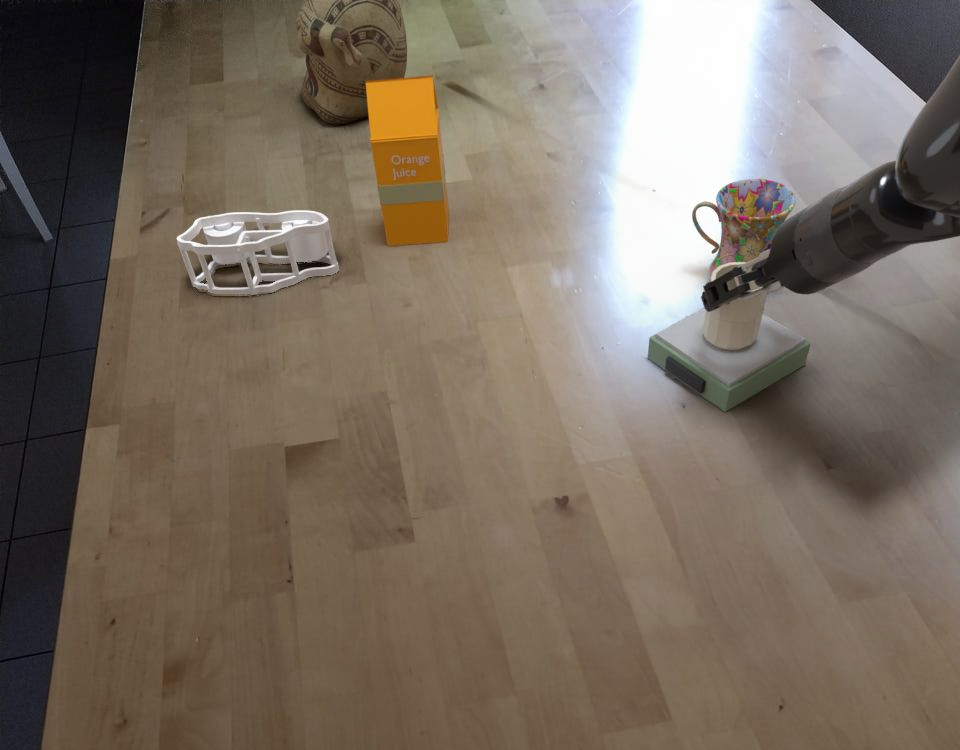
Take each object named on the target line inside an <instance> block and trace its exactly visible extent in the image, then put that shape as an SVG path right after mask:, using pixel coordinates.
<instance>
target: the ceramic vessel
mask: <svg viewBox="0 0 960 750" xmlns="http://www.w3.org/2000/svg"><path fill="white" fill-rule="evenodd" d="M295 28H296V32H297V44H298V45H297V46H298V47H299V50H300V51H301V52H302V53H303V54H305V67H306V71H305V73H304V78H303V81H302V86H301V95H302V99H303V101H304V103H305V104H306V106H308V107H309V108H310V109H311V110H312V111H314V112H315V113H316V114H317V115H318V117H319V118H320V119H321V120H322V121H323V122H325V123H327V124H329V125H334V124H335V125H334V126H338V125H337V124H342V125H346V124H350V123H353V122H357V121H359V119H360V120H362V119H364V118H369V114H368V103H367V92H366V82H365V81H372V80H384V79H396V78H405V76H406V72H407V65H408V40H407V32H406V25H405V19H404V14H403V11H402V7H401V5H400V1H399V0H302V4H301V8H300V10H299V12H298V15H297V17H296V21H295ZM356 120H357V121H356Z"/></svg>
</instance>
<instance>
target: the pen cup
mask: <svg viewBox="0 0 960 750" xmlns="http://www.w3.org/2000/svg"><path fill="white" fill-rule="evenodd" d="M744 263H747V262H730V263H727V264H724V265H720V266H719V267H717V268H716V269H715V270H714V271H713V272H712V275H711V277H710V281H709V282H712V281H714V280H715V279H717V278H719V277H721V276H722V275H724V274H726V273H728V272H729V271H731V270H733V268H735V267H738V266H740V265H742V264H744ZM751 269H752V267H750V268H748V269H747V271H746V273H748V272H751ZM749 285H750V288H751V290H752V291H755V290H758V289H760V288H762V287H758V286H757V285H756V284H755V282H754V281H753V282H751V283H749ZM767 295H768V292H765V293H763V294H761V295H758V296H756V297H754V298H752V299H748V300H743V299H742V298H739V299H737V300H735V301H732V302H730V304H729V305H726V306H725V305H723V306H721V307H719V308H717V309H716V310H713V311H710V312H708V311H707V310H706V314H705V320H704V327H703V334H704V336H705V338H706V340H707V341H709V342H710V343H711V344H712V345H714V346H715V347H717V348H720V349H724V350H738V349H742V348H744V347H746V346H748V345H750V344H752V343H753V342H754V341H755V340H756V339H757V338H758V334H759V329H760V324H761V320H762V315H763V314H764V310H765V305H766V300H767Z"/></svg>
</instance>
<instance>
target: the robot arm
mask: <svg viewBox="0 0 960 750" xmlns="http://www.w3.org/2000/svg"><path fill="white" fill-rule="evenodd" d="M957 237H960V54H959V55H958V57H957V58H956V59H955V61H954V63H953V64H952V66H951V67H950V69H949V70H948V72H947V74H946V75H945V76H944V78H943V79H942V81H941V82H940V84H939V85H938V86H937V88H936V89H935V91H934V92H933V94H932V95H931V96H930V98H929V99H928V100H927V102H926V103H925V104H924V106H923V107H922V109H921V110H920V112H919V113H918V114H917V116H916V117H915V118H914V120H913V121H912V123H911V124H910V126H909V128H908V130H906V133H905V135H904V136H903V139H902V141H901V143H900V145H899V149H898V151H897V155H896V160H892V161H888V162H885V163H882V164H880V165H878V166H877V167H875V168H874V169H871V170H870V171H868V172H867V173H865V174H863V175H862V176H860V177H858V178H857V179H855V180H854V181H852V182H850V183H849V184H847V185H846V186H843V187H840V188H837V189H835V190H833V191H831V192H829V193H827V194H826V195H824V196H823V197H821V198H819V199H818V200H816V201H814V202H813V203H811V204H810V205H808V206H806V207H805V208H803V209H802V210H800V211H799V212H797V213H796V214H794V215H792V216H790V217H789V218H786V220H785V221H784V223H782V224H781V226H780V227H779V228H778V229H777V231H776V233H775V235H774V237H773V240H772V244H771V248H770V249H768V250H766V251H764V252H762V253H760V254H759V256H758V257H757V258H755V259H753V260H751V261H749V262H747V263H744V264H742V265H740V266H738V267H735V268H733V270H731V271H729V272H728V273H726V274H724V275H722V276H721V277H719V278H717V279H715V280H714V281H712V282H710V281H708V282H707V283H705V285H703V286H702V288H703V292H702V293H701V296H700V299H701V301H702V305H703V308H705V309H706V310H707V311H708V312H710V311H713V310H716V309H717V308H719V307H721V306H723V305H725V306H726V305H729V304H730V302H732V301H735V300H737V299H739V298H742V299H743V300H748V299H752V298H754V297H756V296H758V295H761V294H763V293H765V292H767V293H768V292H776V291H778V290H781V289H783V288H784V287H785V288H786V289H788V290H789V291H790V292H793V293H794V294H799V295H813V294H816V293H818V292H821V291H823V290H826V289H827V288H830V287H832V286H834V285H836V284H838V283H840V282H843V281H844V280H846V279H849V278H851V277H853V276H855V275H857V274H860V273H861V272H864V271H865V270H867V269H868V268H870V267H871V266H873V265H874V264H875V263H877V262H878V261H880V260H882V259H885V258H887V257H889V256H892V255H893V254H895V253H898V252H900V251H902V250H904V249H906V248H907V247H910V246H912V245H917V244H927V243H933V242H938V241H943V240H948V239H953V238H957ZM750 267H752V269H751V272H748V273H746V271H747V269H748V268H750ZM753 281H754V282H755V284H756V285H757V286H758V287H762V288H760V289H758V290H755V291H752V290H751V288H750V285H749V283H751V282H753Z"/></svg>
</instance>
